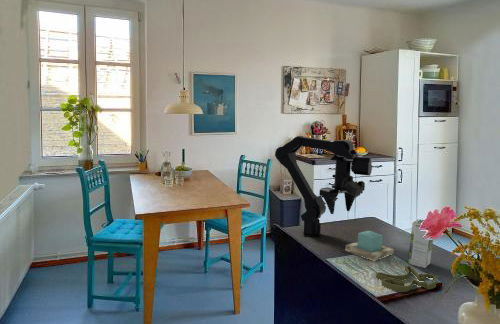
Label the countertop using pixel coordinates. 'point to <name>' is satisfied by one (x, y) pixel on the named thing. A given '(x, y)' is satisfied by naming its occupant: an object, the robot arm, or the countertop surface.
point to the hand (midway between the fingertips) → (340, 212)
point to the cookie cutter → (398, 285)
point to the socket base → (372, 256)
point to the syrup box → (419, 247)
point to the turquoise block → (370, 241)
